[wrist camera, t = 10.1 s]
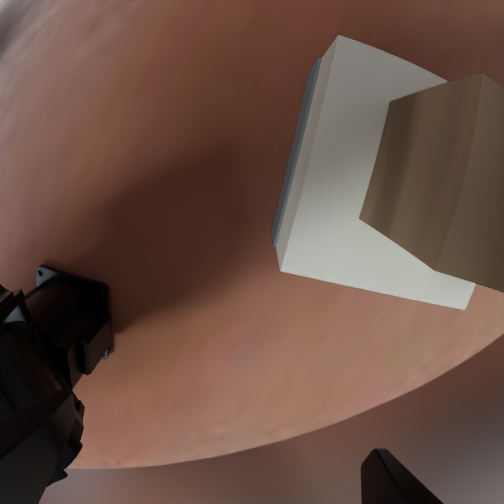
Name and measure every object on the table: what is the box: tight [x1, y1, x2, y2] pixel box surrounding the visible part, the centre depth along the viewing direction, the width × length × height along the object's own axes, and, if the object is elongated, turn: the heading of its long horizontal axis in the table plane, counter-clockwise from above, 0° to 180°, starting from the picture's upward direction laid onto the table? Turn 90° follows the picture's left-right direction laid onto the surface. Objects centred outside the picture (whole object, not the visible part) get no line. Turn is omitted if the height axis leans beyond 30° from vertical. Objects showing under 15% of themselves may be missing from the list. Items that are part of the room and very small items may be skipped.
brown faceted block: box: [359, 72, 504, 292], centre depth 9 cm, size 5×5×6 cm
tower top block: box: [276, 35, 476, 310], centre depth 13 cm, size 10×10×4 cm
